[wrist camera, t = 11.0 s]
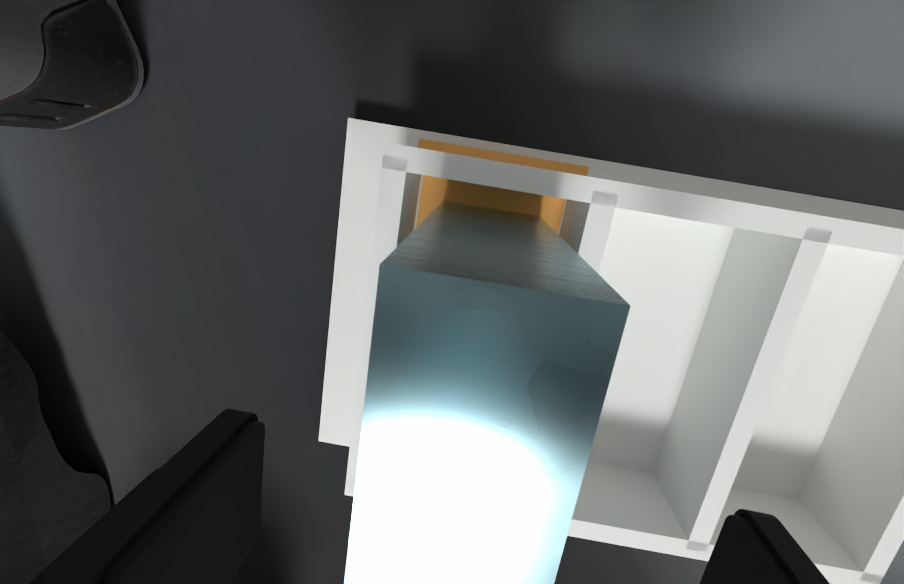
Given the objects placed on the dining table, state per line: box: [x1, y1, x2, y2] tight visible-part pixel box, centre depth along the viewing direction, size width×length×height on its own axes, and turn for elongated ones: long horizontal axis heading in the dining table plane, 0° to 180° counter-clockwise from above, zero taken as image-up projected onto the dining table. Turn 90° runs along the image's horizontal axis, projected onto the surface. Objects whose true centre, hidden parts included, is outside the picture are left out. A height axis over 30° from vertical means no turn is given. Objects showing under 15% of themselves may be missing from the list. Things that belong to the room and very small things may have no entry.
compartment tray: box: [319, 118, 904, 584], centre depth 19 cm, size 26×15×5 cm, turn 81°
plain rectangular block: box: [344, 201, 630, 584], centre depth 14 cm, size 4×10×12 cm, turn 171°
